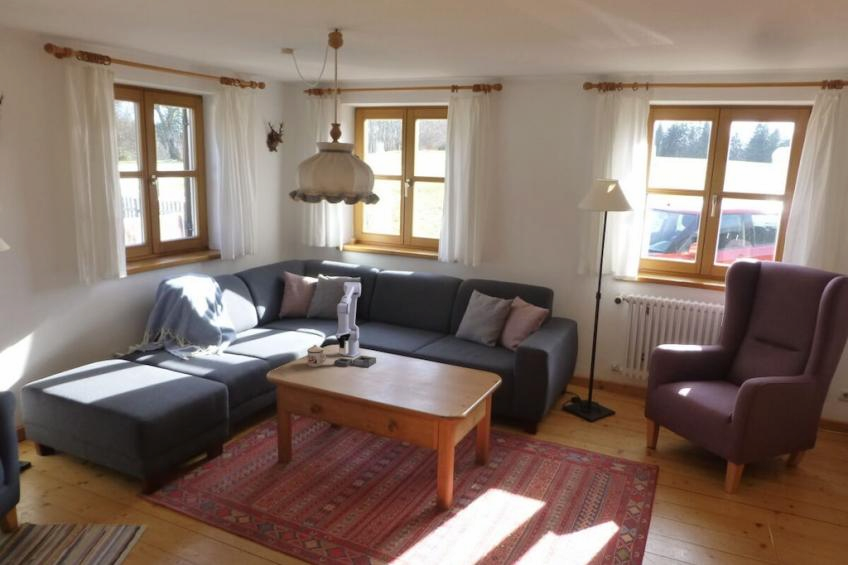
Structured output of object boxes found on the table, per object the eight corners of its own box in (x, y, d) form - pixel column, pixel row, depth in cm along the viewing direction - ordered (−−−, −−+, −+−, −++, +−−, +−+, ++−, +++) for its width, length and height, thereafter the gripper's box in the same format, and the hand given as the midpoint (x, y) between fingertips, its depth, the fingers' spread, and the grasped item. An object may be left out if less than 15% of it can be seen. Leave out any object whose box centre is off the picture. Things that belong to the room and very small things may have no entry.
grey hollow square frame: (340, 361, 359) (340, 357, 359) (352, 363, 356) (352, 359, 356) (334, 365, 353) (334, 361, 352) (346, 367, 350) (346, 362, 349)
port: (360, 360, 363) (360, 354, 362) (376, 362, 359) (376, 357, 358) (352, 365, 353) (352, 359, 353) (368, 367, 350) (368, 362, 349)
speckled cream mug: (304, 365, 352) (303, 345, 349) (314, 361, 359) (314, 341, 357) (320, 369, 346) (320, 349, 344) (330, 364, 354) (330, 345, 351)
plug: (341, 351, 355) (341, 340, 354) (348, 352, 354) (348, 341, 352) (338, 353, 353) (338, 341, 351) (345, 354, 351) (345, 342, 350)
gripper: (343, 320, 358) (343, 342, 361) (330, 326, 345) (331, 349, 347) (354, 321, 355) (354, 344, 358) (342, 327, 342) (342, 351, 345)
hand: (343, 347), depth 352 cm, fingers closed on plug, 3 cm apart
